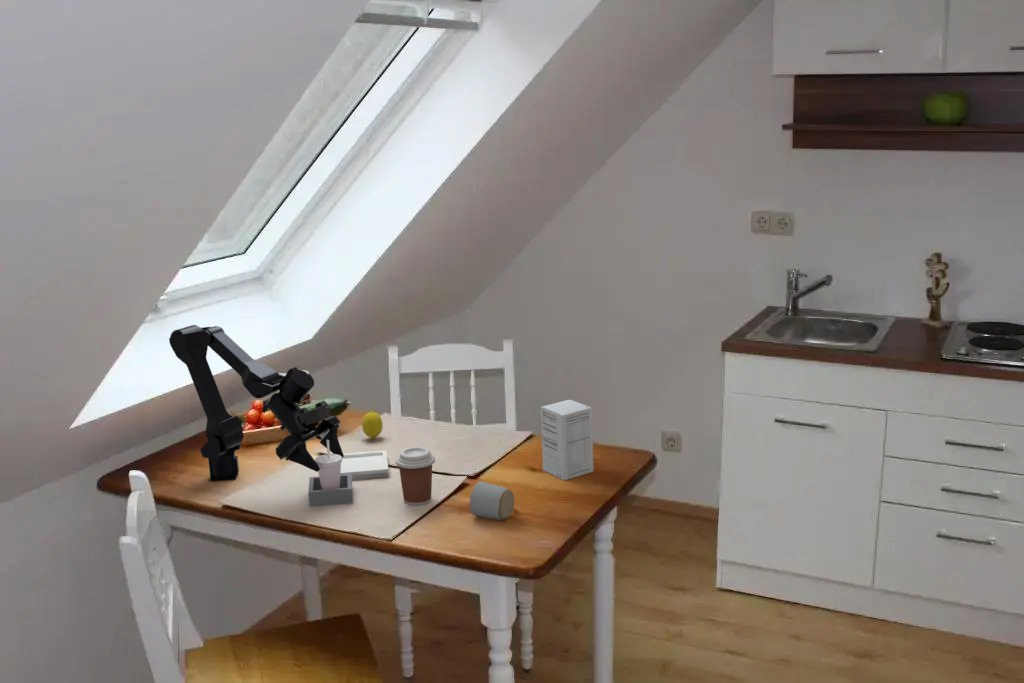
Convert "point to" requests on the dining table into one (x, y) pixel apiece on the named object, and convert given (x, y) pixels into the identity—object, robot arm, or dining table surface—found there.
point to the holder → (330, 492)
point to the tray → (365, 465)
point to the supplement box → (567, 439)
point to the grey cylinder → (491, 501)
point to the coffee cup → (416, 475)
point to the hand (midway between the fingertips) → (330, 464)
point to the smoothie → (329, 469)
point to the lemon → (372, 424)
